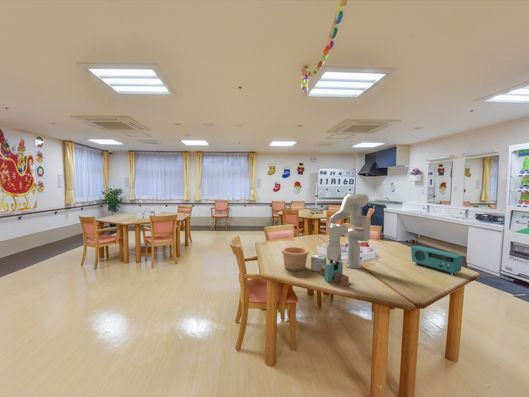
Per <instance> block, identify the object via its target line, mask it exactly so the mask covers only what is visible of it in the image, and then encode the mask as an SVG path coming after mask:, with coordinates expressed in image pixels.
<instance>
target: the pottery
mask: <svg viewBox="0 0 529 397" xmlns="http://www.w3.org/2000/svg"><path fill="white" fill-rule="evenodd" d="M281 253H282V254H283V255H282V256H283V263H284V269H286V270H288V271H291V272H301V271H304V270H305V269H306V266H307V259H308V255H309V253H310V250H309V249H307V248H304V247H300V246H289V247H283V248H282V249H281Z"/></svg>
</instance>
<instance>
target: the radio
mask: <svg viewBox="0 0 529 397" xmlns="http://www.w3.org/2000/svg"><path fill="white" fill-rule="evenodd" d="M410 251H411V261H412V262H414V263H415V264H419V263H420V264H419V265H423V266H428V267H431V268H435V269H439V270H442V271H445V272H449V274H450V275H451V274H452V273H455V274H456V273H458V272H461V270H462V265H463V260H464V255H462V254H458V253H453V252H448V251H443V250H440V249H435V248H430V247H425V246H421V245H414V246H411V247H410Z"/></svg>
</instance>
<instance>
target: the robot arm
mask: <svg viewBox="0 0 529 397" xmlns="http://www.w3.org/2000/svg"><path fill="white" fill-rule="evenodd" d="M368 203H369V196H368V194H366V193H349V194H346V196H344V198H343V199H342V202H341V205H340V208H339V210H338V211H337V212H336V213H334V214H333V215H332V216H331V217H330V218H329V221H328V224H327V228H326V230H327V232H328V244H327V248H326V259H327V260H328V262H329V263H333V262H335V264H334V270H338V264H339V263H341V262H343V261H342V249H341V248H342V247H341V236H345V235H346V237H347V262H346V263H345V267H347V268H349V269H353V270H354V269H355V270H358V269H361V268H362V266H363V265H362V264H361V260H360V259H361V243H360V242H369V241H370V238H371V226H372V225H371V224H372V222H371V218H370V217H369V216H368V215H362V208H363V207H364V206H367V204H368ZM347 218H349V225H350V226H351V228H348V225H345V224H343V223H341V224H340V223H337V222H338V221H341V220H342V219H343V220H344V219H347ZM352 227H353V228H352Z"/></svg>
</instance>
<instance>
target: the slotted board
mask: <svg viewBox="0 0 529 397" xmlns="http://www.w3.org/2000/svg"><path fill="white" fill-rule="evenodd" d="M319 273H320V274H319V275H320V276H323V277H324V278H325V267H324V266H322V267H320V271H319ZM349 280H350V278H349V276H348V275H346V274H344V273H342V274H341V273H339V272H336V273H335V276H333V281H332V282H335V283H337V284H339V285H341V286H344V287H348V286H349V283H350V282H349Z"/></svg>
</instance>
